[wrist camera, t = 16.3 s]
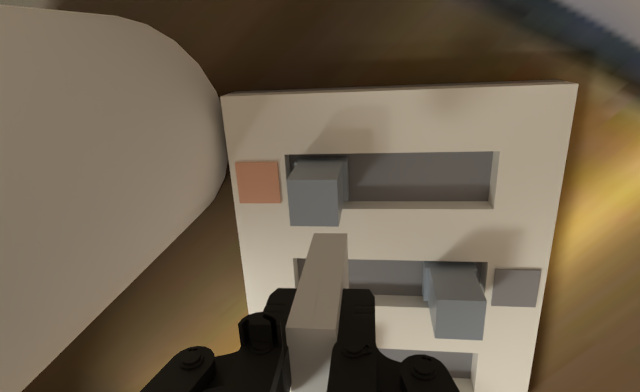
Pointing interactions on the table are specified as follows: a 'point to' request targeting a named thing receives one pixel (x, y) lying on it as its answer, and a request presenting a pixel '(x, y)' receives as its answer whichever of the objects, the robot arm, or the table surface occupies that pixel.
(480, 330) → the switch tab
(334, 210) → the switch tab
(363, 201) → the switch bank
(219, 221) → the table surface
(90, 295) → the cylinder
